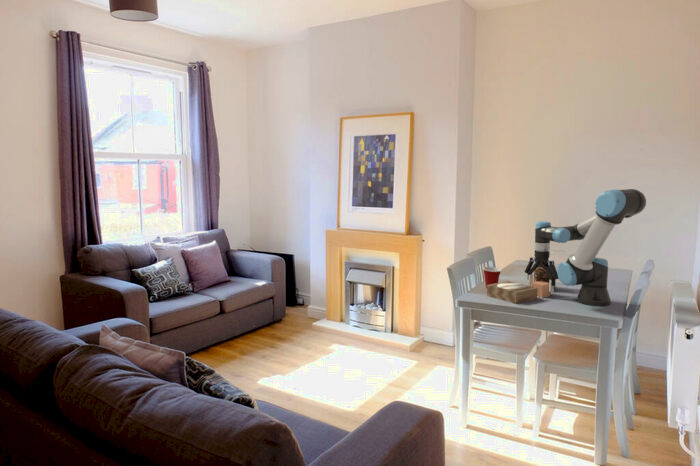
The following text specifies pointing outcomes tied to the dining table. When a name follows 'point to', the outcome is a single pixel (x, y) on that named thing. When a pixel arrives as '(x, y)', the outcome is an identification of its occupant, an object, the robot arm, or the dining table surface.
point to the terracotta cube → (542, 288)
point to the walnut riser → (512, 292)
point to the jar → (542, 275)
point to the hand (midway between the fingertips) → (540, 288)
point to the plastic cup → (491, 275)
